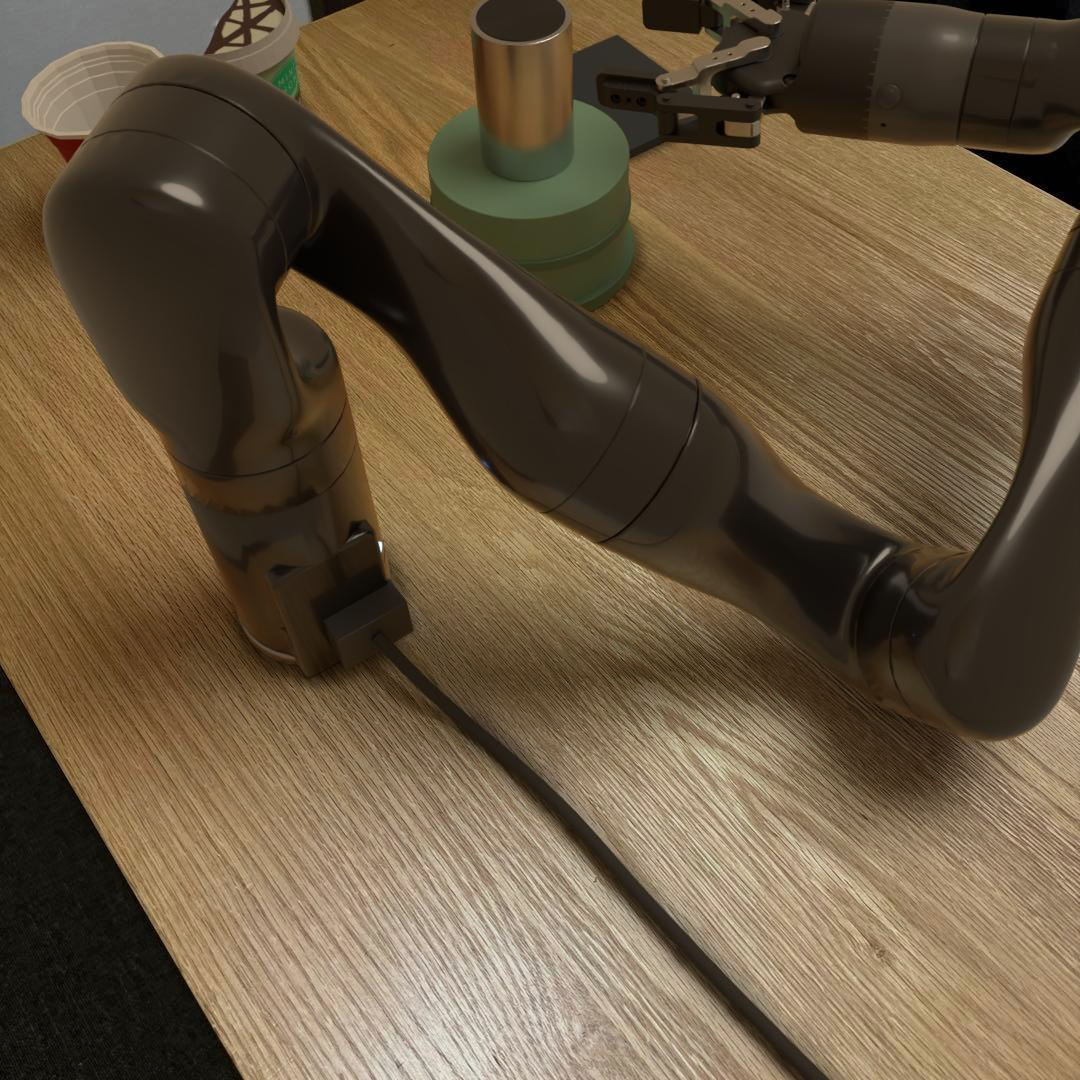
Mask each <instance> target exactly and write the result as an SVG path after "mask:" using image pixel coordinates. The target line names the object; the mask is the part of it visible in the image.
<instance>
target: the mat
mask: <svg viewBox="0 0 1080 1080" xmlns="http://www.w3.org/2000/svg"><path fill="white" fill-rule="evenodd" d="M604 67H612V68H621V69H630V70H640V71H649V72H659V76H660V75H662V74H666V73H670V71H668V70H666V69H665V68H664V67H663V66H662V65H660V64H658V63H657V62H656V61H654V60H653V59H652V58H650V57H649V56H647V54H645V53H643V52H642V51H640V50H639V49H638V48H637V47H635V46H634V45H633V44H631V43H630V42H628V41H627V40H626V39H624V38H623V37H622V36H620V35H619V34H615V35H613V36H610V37H607V38H605V39H603V40H600V41H598V42H597V43H594V44H592V45H589V46H587V47H584V48H582V49H579V50H577V51H576V52H573V100H577V101H580V102H583V103H586V104H588V105H591V106H593V107H595V108H596V109H598V110H600V111H602V112H603V113H605V114H606V115H608V116H609V117H610V118H611V119H612V120H613V121H615V122H616V123H617V125H618V126H619V127H620V128H621V130H622V131H623V133H624V135H625V137H626V139H627V142H628V145H629V154H630V156H629V159H631V158H634V157H635V156H637V155H639V154H642V153H644V152H646V151H648V150H650V149H652V148H655V147H656V146H659V145H661V144H663V143H665V142H664V141H661V140H660V139H659V137H658V119H657V117H656V116H655V115H653V114H651V113H644V112H635V111H628V110H621V109H620V110H618V109H611V108H608V107H605V106H603V105H601V104H600V103H599V101H598V97H597V86H596V77H597V75H598V74H599V72H600V70H601V69H602V68H604ZM677 93H681V94H692V93H693V88H691V86H690V87H687V88H683V89H679V90H677ZM679 123H681V124H693V125H698V118H697V116H696V115H694V116H691V117H687V118H683V119H680V120H679Z"/></svg>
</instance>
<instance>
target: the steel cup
mask: <svg viewBox="0 0 1080 1080" xmlns="http://www.w3.org/2000/svg"><path fill="white" fill-rule="evenodd" d="M469 29H470V42H471V52H472V53H471V54H472V63H473V73H474V84H475V86H474V87H475V97H476V105H477V109H478V120H479V131H480V142H481V153H482V160H483V162H484V164H485V166H486V167H487V168H488V169H489V170H490V171H491V172H492V173H494V174H496V175H497V176H499V177H502V178H505V179H508V180H512V181H519V182H532V181H539V180H544V179H547V178H550V177H552V176H555V175H557V174H559V173H560V172H562V171H563V170H564V169H565V168H567V166H568V165H569V164H570V163H571V161H572V159H573V156H574V104H573V53H574V51H573V46H574V45H573V12H572V9H571V8H570V5H569V4H568V3H567V2H566V1H565V0H481V1H480V2H478V3H477V4H476V5H475V6H474V8H473V9H472V10H471V12H470V15H469Z"/></svg>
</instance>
